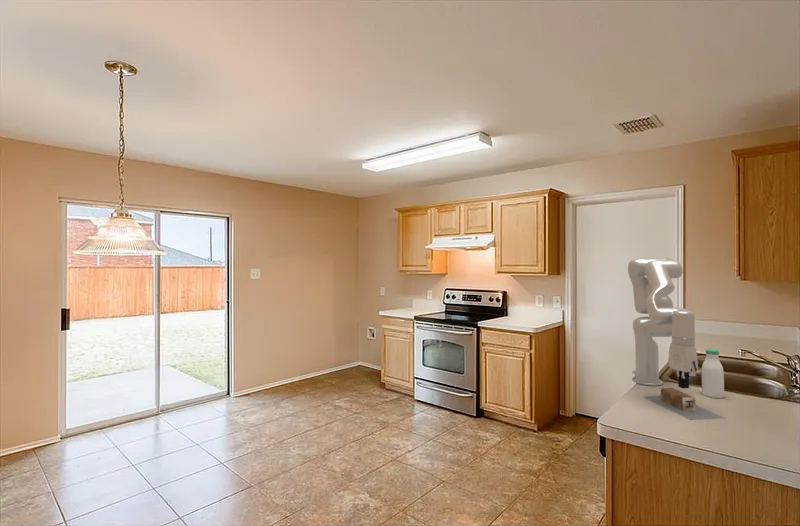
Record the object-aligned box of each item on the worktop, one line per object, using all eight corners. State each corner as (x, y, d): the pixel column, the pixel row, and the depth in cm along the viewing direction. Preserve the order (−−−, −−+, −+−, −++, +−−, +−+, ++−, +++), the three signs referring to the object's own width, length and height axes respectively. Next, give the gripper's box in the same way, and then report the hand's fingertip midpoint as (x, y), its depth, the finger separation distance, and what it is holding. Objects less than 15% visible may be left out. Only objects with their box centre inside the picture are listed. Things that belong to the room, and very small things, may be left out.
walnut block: (683, 410, 159) (661, 400, 171) (695, 410, 159) (672, 399, 171) (683, 397, 159) (661, 388, 171) (695, 397, 159) (672, 387, 171)
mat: (642, 397, 176) (642, 396, 176) (672, 396, 177) (672, 395, 177) (690, 420, 150) (690, 419, 150) (725, 419, 151) (725, 417, 151)
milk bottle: (728, 398, 173) (728, 351, 173) (710, 398, 173) (709, 351, 173) (715, 392, 180) (714, 347, 180) (697, 393, 180) (696, 348, 180)
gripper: (660, 338, 169) (661, 382, 169) (689, 345, 154) (689, 394, 154) (677, 337, 169) (678, 381, 170) (707, 345, 155) (708, 393, 155)
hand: (683, 387), depth 162 cm, fingers closed
